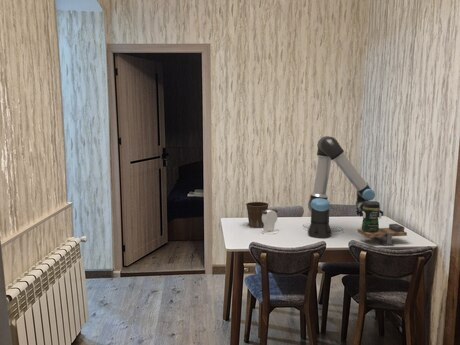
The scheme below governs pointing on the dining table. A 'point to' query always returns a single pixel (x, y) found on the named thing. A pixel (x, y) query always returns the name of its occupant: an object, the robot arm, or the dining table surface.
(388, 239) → the beam stand
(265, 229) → the white sculpture
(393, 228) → the seesaw beam
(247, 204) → the plant pot
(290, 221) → the dining table surface
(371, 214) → the coffee jar
